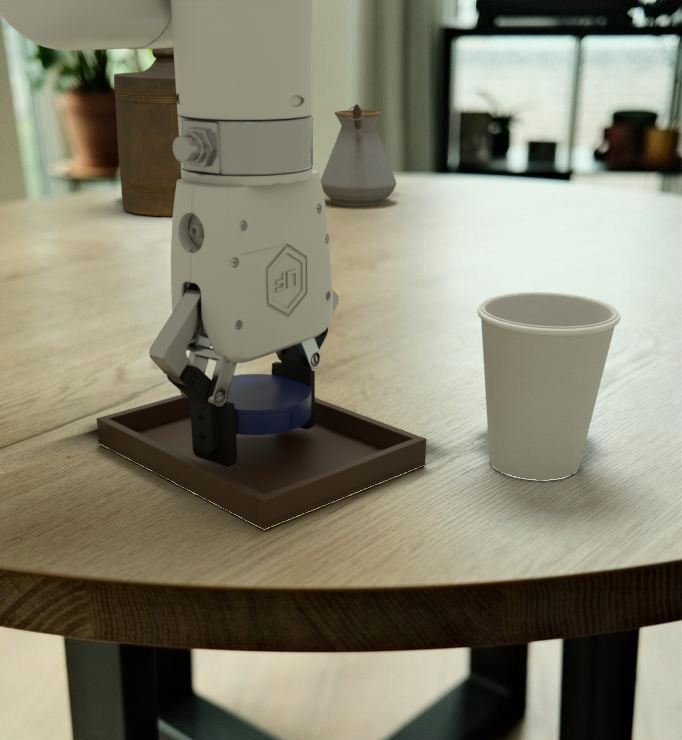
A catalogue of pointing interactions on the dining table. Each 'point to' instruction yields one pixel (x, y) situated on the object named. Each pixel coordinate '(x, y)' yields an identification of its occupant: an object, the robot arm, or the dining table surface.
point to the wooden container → (148, 136)
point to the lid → (269, 403)
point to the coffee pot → (358, 162)
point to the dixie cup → (542, 378)
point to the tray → (267, 458)
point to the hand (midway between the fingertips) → (256, 439)
